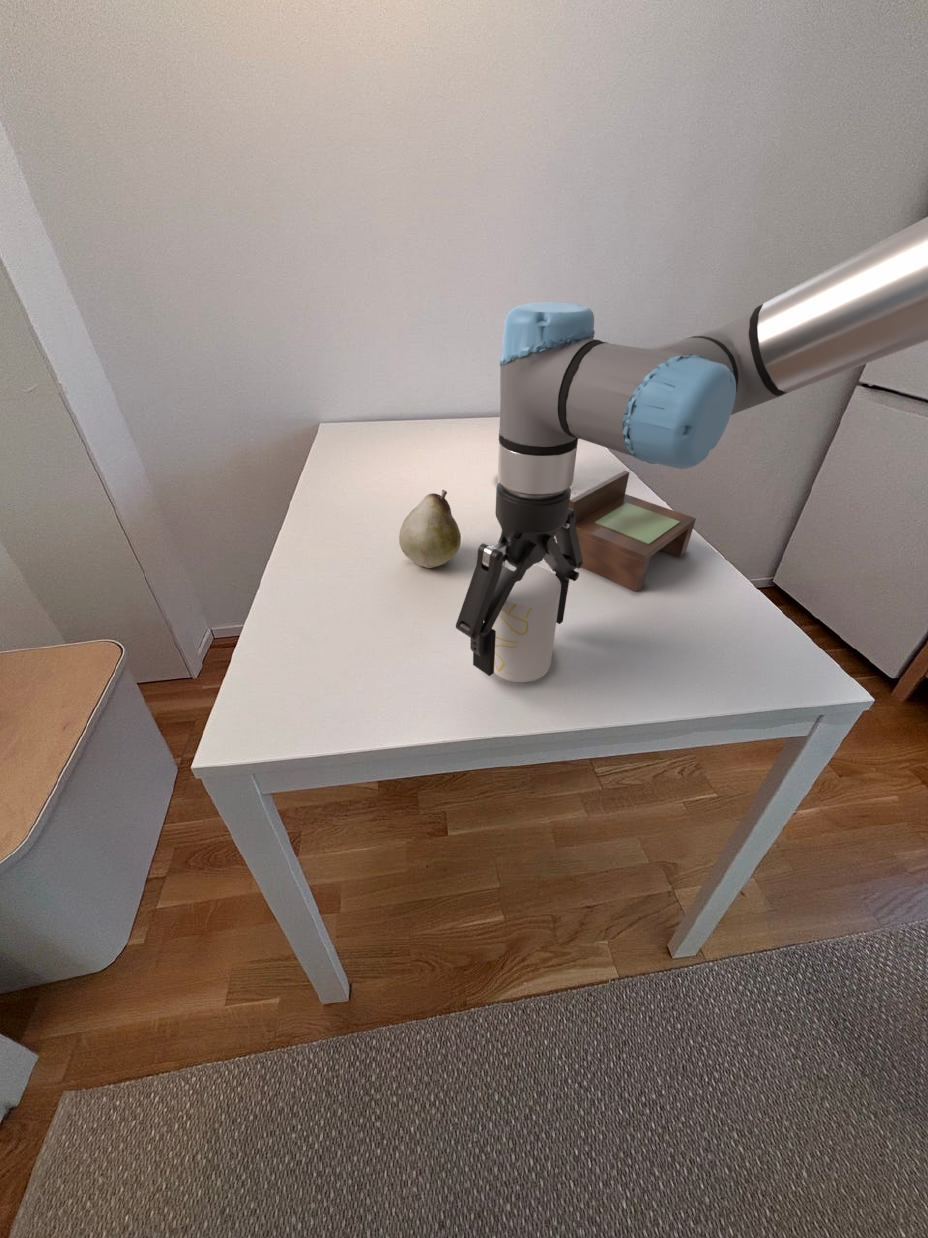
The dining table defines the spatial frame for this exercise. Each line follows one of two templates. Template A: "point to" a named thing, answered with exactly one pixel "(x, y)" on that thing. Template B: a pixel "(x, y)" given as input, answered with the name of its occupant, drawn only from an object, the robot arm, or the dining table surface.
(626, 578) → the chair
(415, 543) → the fruit
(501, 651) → the white round cylinder
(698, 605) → the dining table surface
